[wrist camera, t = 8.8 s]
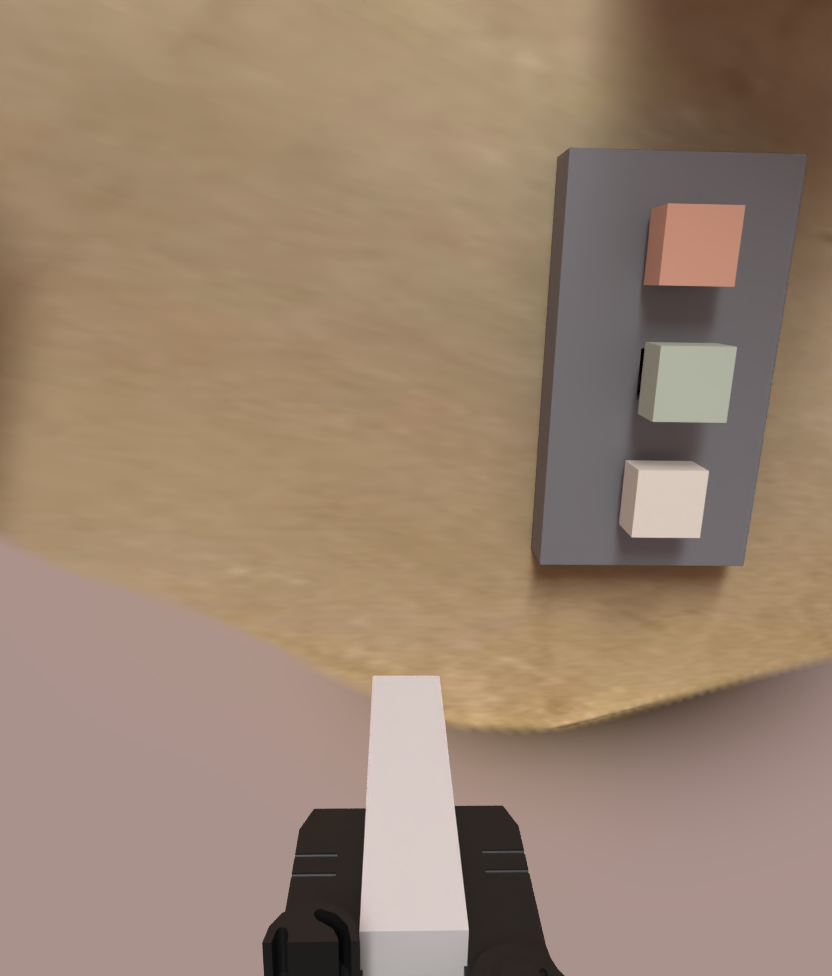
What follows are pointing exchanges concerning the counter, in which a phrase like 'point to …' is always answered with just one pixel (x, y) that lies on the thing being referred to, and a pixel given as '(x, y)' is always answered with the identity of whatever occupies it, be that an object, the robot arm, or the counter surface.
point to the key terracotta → (694, 245)
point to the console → (654, 318)
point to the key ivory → (663, 499)
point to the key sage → (686, 382)
